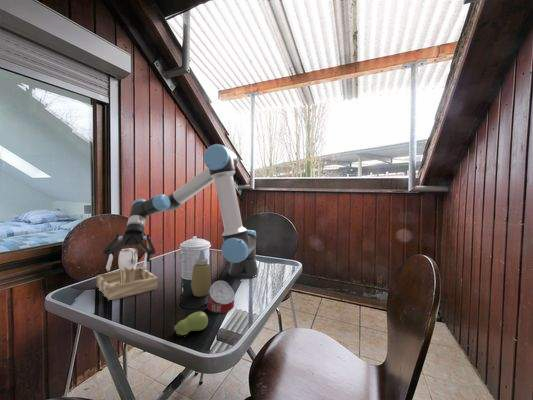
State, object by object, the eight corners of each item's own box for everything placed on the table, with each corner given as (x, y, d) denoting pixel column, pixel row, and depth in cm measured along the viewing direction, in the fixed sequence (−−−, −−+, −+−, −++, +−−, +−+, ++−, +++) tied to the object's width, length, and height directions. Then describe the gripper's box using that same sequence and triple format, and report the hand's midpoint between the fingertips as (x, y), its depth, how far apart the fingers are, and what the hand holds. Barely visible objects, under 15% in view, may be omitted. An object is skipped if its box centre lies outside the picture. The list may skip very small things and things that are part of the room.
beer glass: (128, 289, 101) (129, 252, 100) (113, 287, 102) (114, 250, 101) (140, 283, 107) (141, 248, 107) (126, 281, 109) (127, 247, 108)
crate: (157, 289, 105) (157, 277, 105) (108, 301, 92) (108, 288, 92) (141, 277, 117) (142, 267, 117) (96, 286, 104) (96, 275, 104)
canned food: (229, 313, 97) (242, 290, 97) (225, 323, 87) (240, 298, 87) (204, 298, 97) (217, 275, 98) (197, 307, 87) (212, 282, 88)
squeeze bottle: (214, 293, 103) (216, 250, 102) (200, 300, 96) (201, 254, 96) (201, 288, 107) (202, 247, 107) (186, 294, 100) (187, 250, 100)
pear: (209, 313, 75) (175, 327, 70) (211, 329, 76) (178, 345, 70) (203, 305, 80) (170, 318, 74) (205, 321, 80) (173, 334, 75)
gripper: (164, 231, 122) (159, 271, 108) (107, 232, 115) (93, 274, 101) (163, 222, 117) (158, 263, 103) (103, 222, 110) (88, 265, 96)
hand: (126, 269), depth 102 cm, fingers open, 13 cm apart
